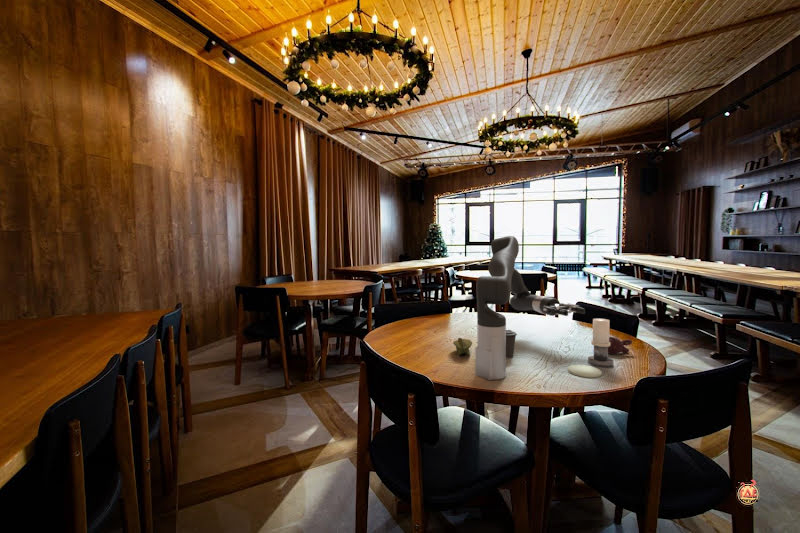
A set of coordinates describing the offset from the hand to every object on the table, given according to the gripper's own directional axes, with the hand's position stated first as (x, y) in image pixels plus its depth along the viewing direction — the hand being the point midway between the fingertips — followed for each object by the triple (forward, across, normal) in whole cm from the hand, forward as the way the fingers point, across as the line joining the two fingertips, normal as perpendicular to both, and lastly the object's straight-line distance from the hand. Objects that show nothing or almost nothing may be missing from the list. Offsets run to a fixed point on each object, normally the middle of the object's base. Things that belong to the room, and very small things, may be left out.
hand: (576, 312), depth 135 cm
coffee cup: (-8, -26, +17) cm, 32 cm away
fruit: (-17, -41, +17) cm, 48 cm away
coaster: (+16, -13, +16) cm, 26 cm away
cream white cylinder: (+12, 0, +10) cm, 15 cm away
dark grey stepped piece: (+12, 0, +17) cm, 20 cm away
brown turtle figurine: (+5, +14, +17) cm, 23 cm away
